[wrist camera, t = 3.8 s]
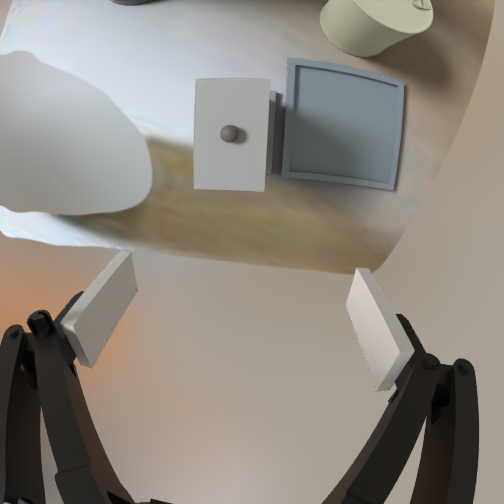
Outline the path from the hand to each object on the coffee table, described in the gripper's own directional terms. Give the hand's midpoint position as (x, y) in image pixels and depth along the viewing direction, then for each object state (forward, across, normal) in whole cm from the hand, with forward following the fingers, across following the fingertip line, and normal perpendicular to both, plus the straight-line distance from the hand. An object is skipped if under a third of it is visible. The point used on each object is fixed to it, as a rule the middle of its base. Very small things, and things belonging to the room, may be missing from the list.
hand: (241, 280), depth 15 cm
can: (+20, +11, +24) cm, 33 cm away
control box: (+20, -2, +7) cm, 21 cm away
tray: (+20, +10, +10) cm, 24 cm away
